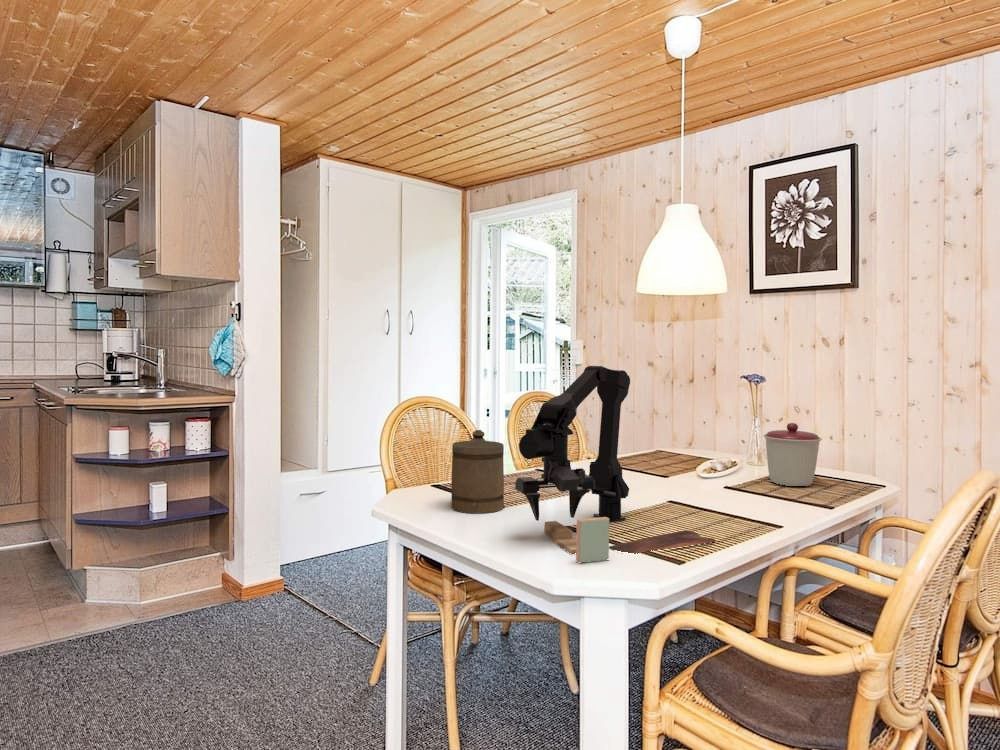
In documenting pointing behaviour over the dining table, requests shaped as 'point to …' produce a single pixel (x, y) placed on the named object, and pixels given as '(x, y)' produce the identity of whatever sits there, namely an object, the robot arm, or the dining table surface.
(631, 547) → the wooden tablet
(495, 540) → the dining table surface
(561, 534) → the tan paddle
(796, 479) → the canister
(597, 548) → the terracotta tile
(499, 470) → the wooden container
